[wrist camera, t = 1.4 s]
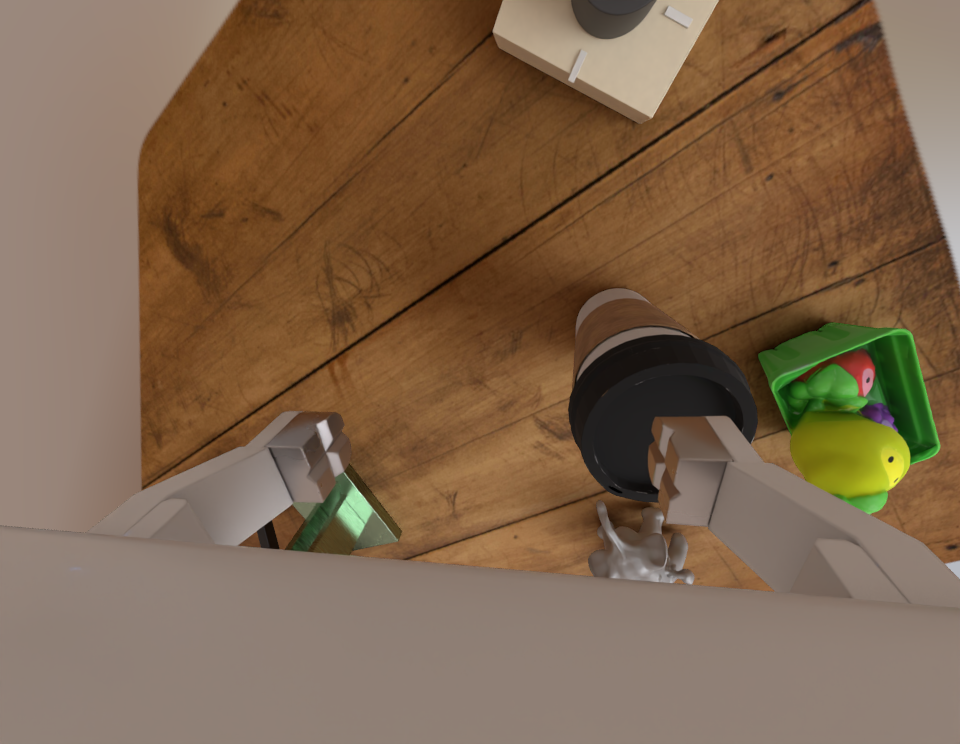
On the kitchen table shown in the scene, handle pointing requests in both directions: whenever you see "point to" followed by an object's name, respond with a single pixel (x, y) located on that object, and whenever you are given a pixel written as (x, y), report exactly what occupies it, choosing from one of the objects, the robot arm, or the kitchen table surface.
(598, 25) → the knob
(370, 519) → the green metal lever stand
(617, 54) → the panel
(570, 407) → the coffee cup
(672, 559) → the gray elephant figurine
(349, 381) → the kitchen table surface
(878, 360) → the fruit basket
